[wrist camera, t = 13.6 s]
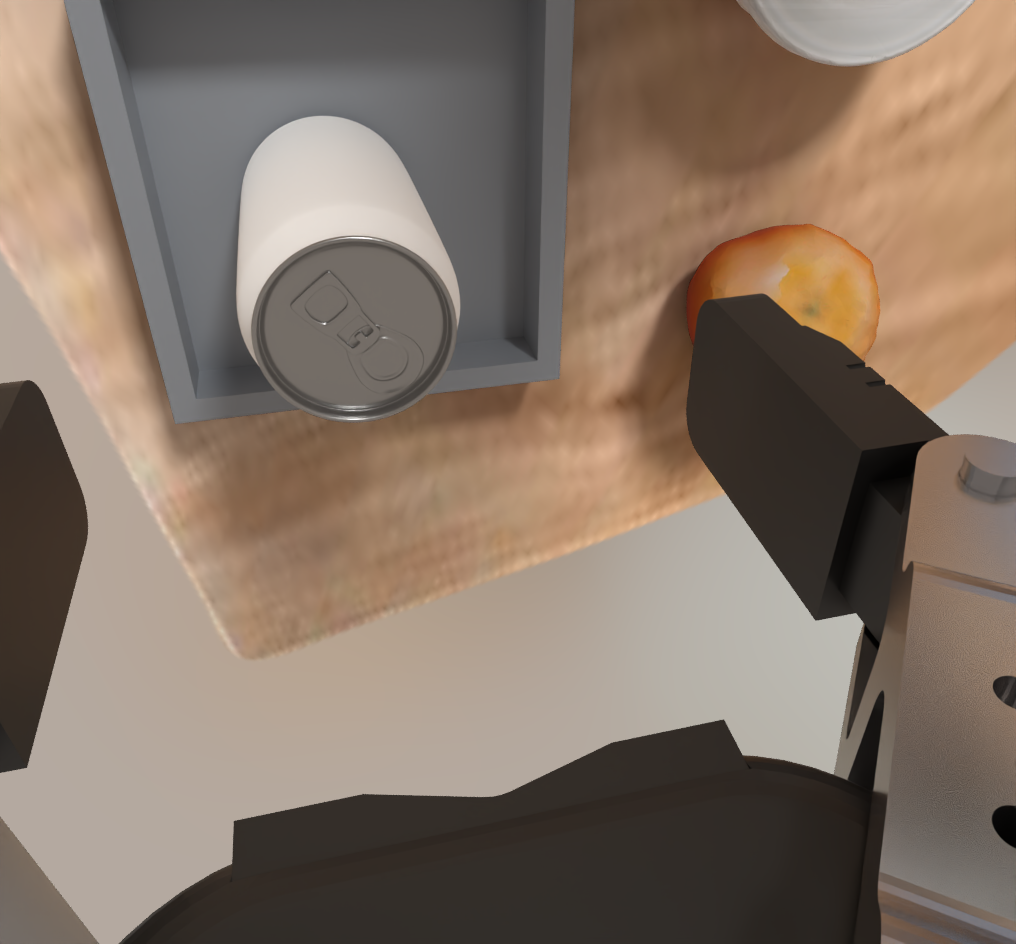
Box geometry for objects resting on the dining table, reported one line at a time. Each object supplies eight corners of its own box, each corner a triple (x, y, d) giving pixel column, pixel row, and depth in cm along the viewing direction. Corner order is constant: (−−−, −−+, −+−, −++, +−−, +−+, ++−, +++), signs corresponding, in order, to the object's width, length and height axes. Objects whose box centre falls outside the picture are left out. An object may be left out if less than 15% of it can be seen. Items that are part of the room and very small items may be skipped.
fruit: (682, 426, 43) (745, 431, 35) (644, 269, 42) (700, 237, 34) (832, 385, 43) (928, 380, 35) (798, 229, 42) (888, 189, 35)
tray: (551, -57, 31) (576, -50, 28) (541, 347, 40) (559, 378, 37) (70, -49, 27) (53, -40, 25) (180, 387, 37) (175, 424, 34)
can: (327, 310, 36) (353, 473, 26) (203, 194, 32) (180, 334, 22) (444, 206, 34) (517, 338, 25) (329, 72, 31) (362, 166, 21)
